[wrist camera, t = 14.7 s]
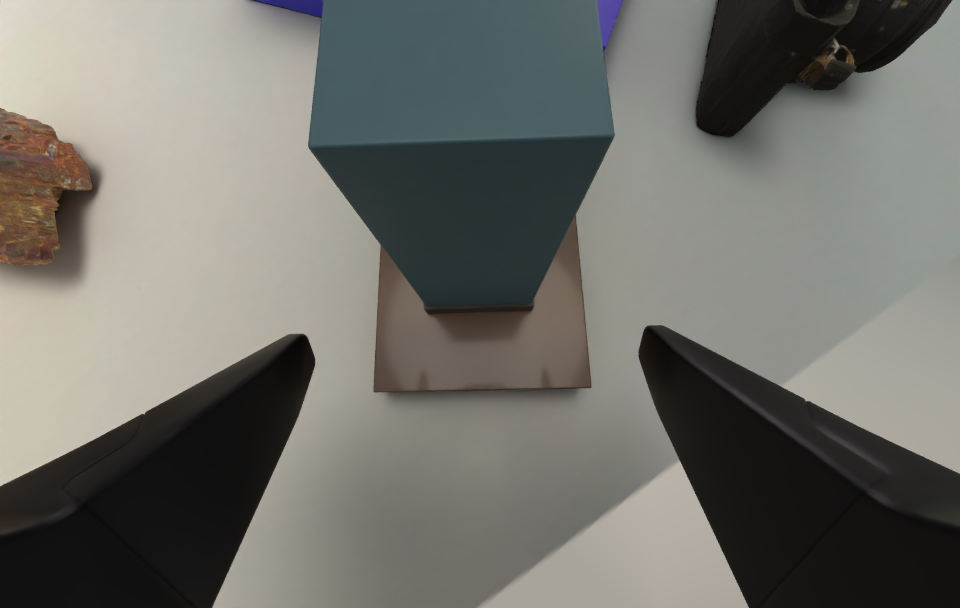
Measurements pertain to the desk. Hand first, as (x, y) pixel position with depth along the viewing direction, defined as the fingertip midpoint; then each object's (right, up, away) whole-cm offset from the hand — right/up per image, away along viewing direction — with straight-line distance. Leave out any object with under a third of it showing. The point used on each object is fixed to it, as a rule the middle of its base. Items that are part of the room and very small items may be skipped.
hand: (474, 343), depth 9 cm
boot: (0, +5, +10) cm, 12 cm away
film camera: (+21, +19, +16) cm, 33 cm away
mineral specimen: (-29, +8, +14) cm, 34 cm away
